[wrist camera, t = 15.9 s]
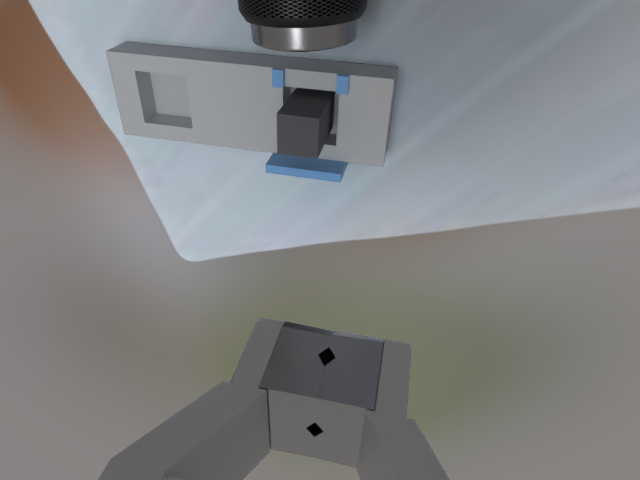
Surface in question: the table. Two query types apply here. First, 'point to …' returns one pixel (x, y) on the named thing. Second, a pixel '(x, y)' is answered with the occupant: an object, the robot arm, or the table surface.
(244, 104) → the grey board with holes
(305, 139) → the dark rectangular block
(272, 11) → the muzzle brake
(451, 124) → the table surface
